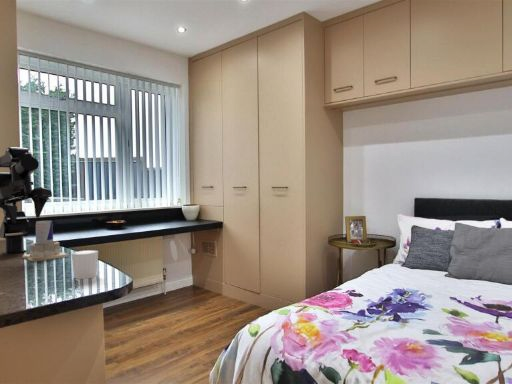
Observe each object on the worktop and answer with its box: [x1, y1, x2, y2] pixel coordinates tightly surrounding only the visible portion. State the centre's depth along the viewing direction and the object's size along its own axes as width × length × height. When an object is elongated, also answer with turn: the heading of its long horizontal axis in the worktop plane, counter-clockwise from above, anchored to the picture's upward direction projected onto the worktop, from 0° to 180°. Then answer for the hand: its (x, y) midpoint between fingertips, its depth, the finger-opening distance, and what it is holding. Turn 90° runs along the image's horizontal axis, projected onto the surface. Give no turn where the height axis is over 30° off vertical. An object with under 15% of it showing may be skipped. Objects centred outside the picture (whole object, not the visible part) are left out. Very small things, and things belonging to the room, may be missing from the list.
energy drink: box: [35, 220, 54, 245], centre depth 128 cm, size 5×5×12 cm
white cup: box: [71, 249, 99, 280], centre depth 101 cm, size 7×7×7 cm
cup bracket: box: [22, 241, 69, 263], centre depth 128 cm, size 11×11×5 cm
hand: (25, 220), depth 129 cm, fingers open, 9 cm apart
